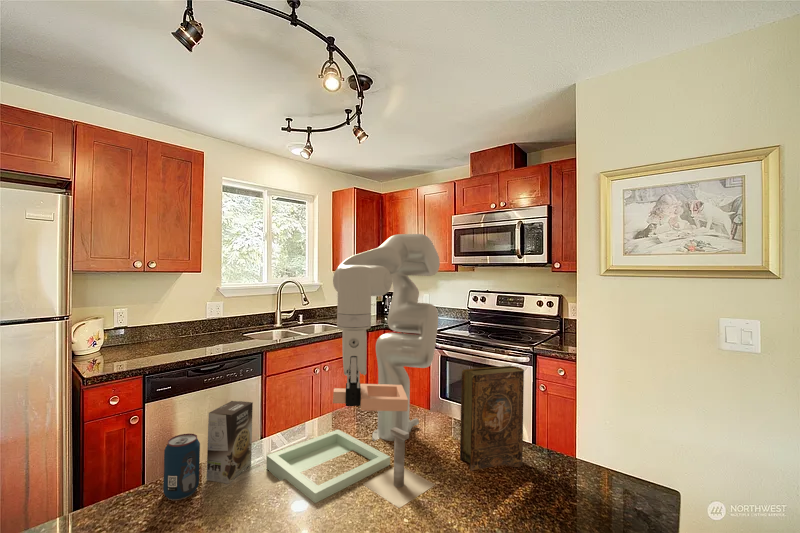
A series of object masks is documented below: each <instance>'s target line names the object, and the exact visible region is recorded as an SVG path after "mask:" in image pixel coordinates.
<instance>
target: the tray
mask: <svg viewBox="0 0 800 533" xmlns="http://www.w3.org/2000/svg"><path fill="white" fill-rule="evenodd" d="M352 451H354V452H356V453H358V454H359V455H361V456H363V457H364V458H365V459H368V460H369V461H368V462H367V461H366V462H364V463H363V464H361V465H358V466H356V467H355V468H352V469H349V470H347V471H345V472H344V473H342V474H339V475H337V476H335V477H333V478H331V479H329V480H327V481H325V482H323V483H321V484H317V483H316V482H314V481H313V480H311V479H310V478H308V477H307V476H306V475H305V474H303V472H304V471H308V470H310V469H312V468H314V467H316V466H319V465H321V464H324V463H326V462H328V461H330V460H333V459H335V458H337V457H339V456H342V455H345V454H347V453H349V452H352ZM389 466H391V456H390V455H388V454H386V453H384V452H382V451H380V450H378V449H377V448H374V447H373V446H371V445H369V444H366V443H365V442H363V441H361V440H359V439H357V438H355V437H354V436H352V435H350V434H348V433H346V432H345V431H343V430H340V429H335V430H332V431H330V432H329V431H328V433H327V432H326V433H325V434H322V435H319V436H315V437H314V438H311V439H308V440H305V441H302V442H300V443H299V442H298V443H297V444H293V445H292V446H289V447H285V448H283V449H281V450H278V451H275V452H272V453H270V454H267V455H266V468H267V469H268V470H269V471H270V472H271V473H272V474H271V473H270V472H269V471H268V470H267V469H266V468H265V469H266V470H267V471H268V472H269V473H270V474H271V475H273V476H274V478H276V479H277V478H278V479H277V480H279V481H280V482H282V481H284V480H286V481H288V483H289V484H291V485H292V486H294V488H296V489H297V490H298V491H299V492H301V493H302V494H303V495H305V496H306V497H307V498H308V499H309V500H310V501H312V502H313V503H314V504H316V503H318V502H320V501H322V500H324V499H326V498H329V497H330V496H332V495H334V494H336V493H338V492H340V491H342V490H344V489H345V488H347V487H350V486H351V485H353V484H356V483H357V482H359V481H361V480H363V479H366V478H367V477H369V476H371V475H373V474H375V473H377V472H379V471H381V470H383V469H384V468H387V467H389Z"/></svg>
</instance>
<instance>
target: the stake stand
mask: <svg viewBox="0 0 800 533" xmlns="http://www.w3.org/2000/svg"><path fill="white" fill-rule="evenodd" d="M390 434H391V435H393V436H394V441H393V442H394V446H393V447H394V448H393V467H391V468H389V469H387V470H385V471H384V472H381V473H379V474H378V475H376V476H374V477H373V478H370V479H368V480H366V481H364V482H363V483H362V485H363V486H365V488H367V489H369V490H370V491H371V492H374V493H375V494H377V495H378V496H379V497H381V498H382V499H384V500H385V501H387V502H388V503H390V504H391V505H393V506H395V507H396V508H398V509H400V508H402V507H403V506H405V505H407V504H408V503H410V502H411V501H413V500H415V499H416V498H418V497H419V496H420V495H423V493H425V492H427V491H428V490H431V489H432V488H433V487H434V486H436V483H434V482H432V481H430V480H429V479H428V480H427V479H426V478H424V477H423V476H421V475H419V474H417V473H415V472H412V471H411V470H409V469H407V468H406V467H405V455H406V454H405V453H406V452H405V449H406V446H405V441H406V440H408V439H410V432H409V433H408V432H406V431H403V430H401V429H399V428H396V427H394V428H392V429H391V433H390Z"/></svg>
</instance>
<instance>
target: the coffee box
mask: <svg viewBox="0 0 800 533" xmlns="http://www.w3.org/2000/svg"><path fill="white" fill-rule="evenodd" d="M253 403H254V402H253V401H244V400H243V401H241V400H239V401H238V400H230V401H229V402H227V403H225V404H223V405H221V406H219V407H217V408H215V409H213V410H211V411H210V412H208V422H207V423H208V425H207V449H206V450H207V452H206V453H207V454H206V456H207V457H206V481H209V482H210V481H211V482H217V483H223V484H230V483H232V481H234V480H235V479H236V478H238V476H240V474H242V473H243V472H244V471H245V470H247V467H248V466H249V465H250V464H251V465H252V444H253ZM251 465H250V466H251ZM250 466H249V467H250ZM249 467H248V468H249ZM243 470H244V471H243ZM242 471H243V472H242ZM241 472H242V473H241ZM235 477H236V478H235ZM234 478H235V479H234ZM229 482H230V483H229Z"/></svg>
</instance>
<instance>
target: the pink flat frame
mask: <svg viewBox="0 0 800 533" xmlns="http://www.w3.org/2000/svg"><path fill="white" fill-rule="evenodd" d="M360 387H361V391H360V406H359V408H360V411H363V412H365V411H367V412H368V411H370V412H372V411H374V412H376V411H377V412H378V411H407V410H408V398H407V396H406V393H405V391H404V389H403V386H402V385H392V384H378V383H360ZM332 397H333V398H332V404H344V405H346V388H338V387H337V388H333V393H332Z"/></svg>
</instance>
